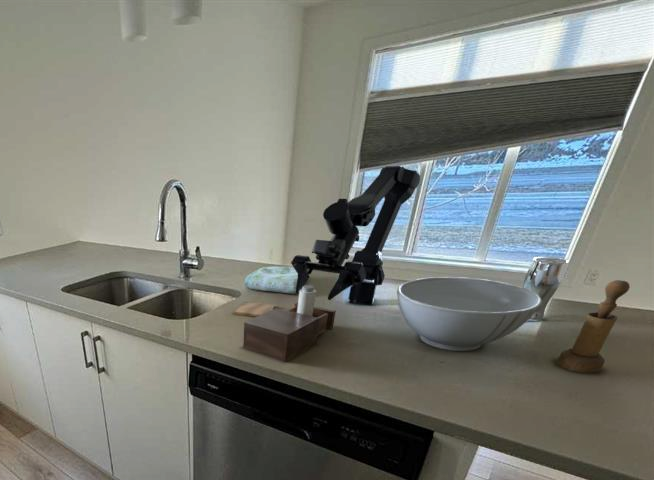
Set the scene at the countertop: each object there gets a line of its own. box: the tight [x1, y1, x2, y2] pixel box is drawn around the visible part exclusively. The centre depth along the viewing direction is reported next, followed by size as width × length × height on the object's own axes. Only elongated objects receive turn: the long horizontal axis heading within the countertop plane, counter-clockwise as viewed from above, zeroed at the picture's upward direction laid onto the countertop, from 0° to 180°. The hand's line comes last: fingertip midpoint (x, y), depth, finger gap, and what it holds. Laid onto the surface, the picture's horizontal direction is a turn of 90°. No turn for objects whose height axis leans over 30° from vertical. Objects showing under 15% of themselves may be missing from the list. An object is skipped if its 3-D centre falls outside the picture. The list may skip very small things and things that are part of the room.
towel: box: [244, 265, 298, 295], centre depth 148 cm, size 18×21×5 cm
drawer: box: [286, 302, 336, 336], centre depth 108 cm, size 14×11×5 cm
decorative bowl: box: [396, 276, 542, 352], centre depth 96 cm, size 27×27×12 cm
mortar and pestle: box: [556, 279, 631, 374], centre depth 80 cm, size 7×6×18 cm
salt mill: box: [297, 284, 317, 317], centre depth 106 cm, size 4×4×11 cm
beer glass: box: [522, 256, 570, 322], centre depth 103 cm, size 7×7×15 cm
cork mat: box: [233, 301, 276, 317], centre depth 128 cm, size 10×10×1 cm
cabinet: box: [242, 307, 319, 362], centre depth 103 cm, size 14×13×7 cm
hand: (312, 296), depth 106 cm, fingers open, 9 cm apart
